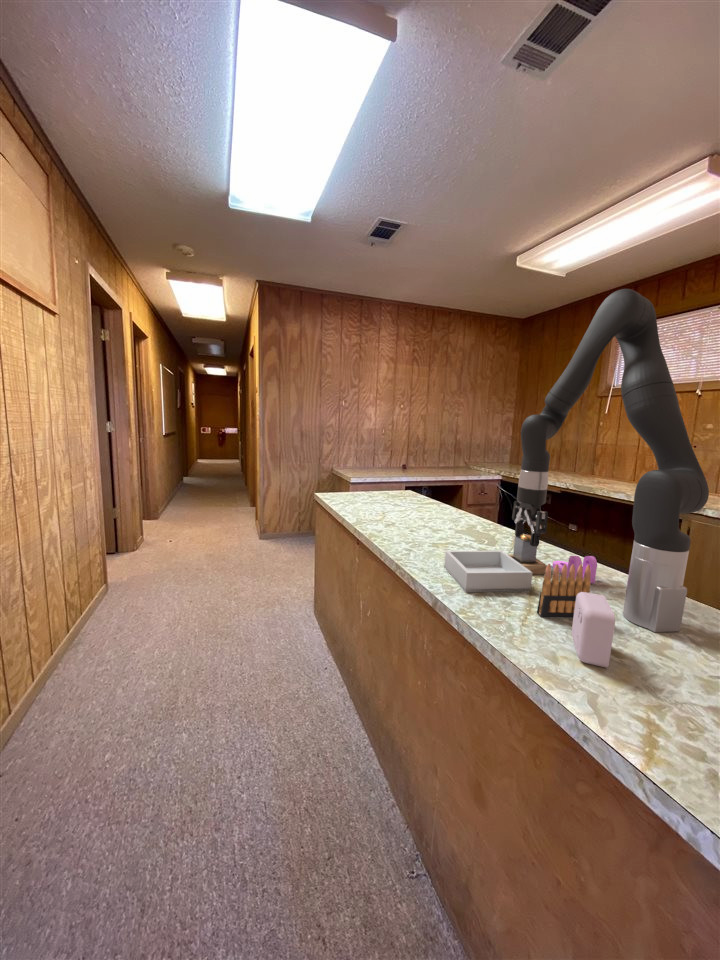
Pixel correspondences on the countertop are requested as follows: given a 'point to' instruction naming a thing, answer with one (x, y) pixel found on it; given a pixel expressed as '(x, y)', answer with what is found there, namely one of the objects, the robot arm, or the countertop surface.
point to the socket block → (535, 566)
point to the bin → (487, 571)
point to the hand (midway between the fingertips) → (526, 540)
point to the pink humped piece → (577, 561)
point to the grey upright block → (524, 550)
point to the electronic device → (593, 629)
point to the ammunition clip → (562, 591)
